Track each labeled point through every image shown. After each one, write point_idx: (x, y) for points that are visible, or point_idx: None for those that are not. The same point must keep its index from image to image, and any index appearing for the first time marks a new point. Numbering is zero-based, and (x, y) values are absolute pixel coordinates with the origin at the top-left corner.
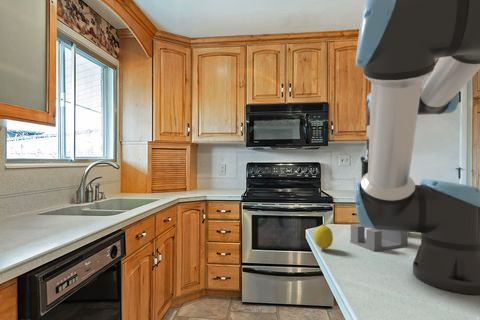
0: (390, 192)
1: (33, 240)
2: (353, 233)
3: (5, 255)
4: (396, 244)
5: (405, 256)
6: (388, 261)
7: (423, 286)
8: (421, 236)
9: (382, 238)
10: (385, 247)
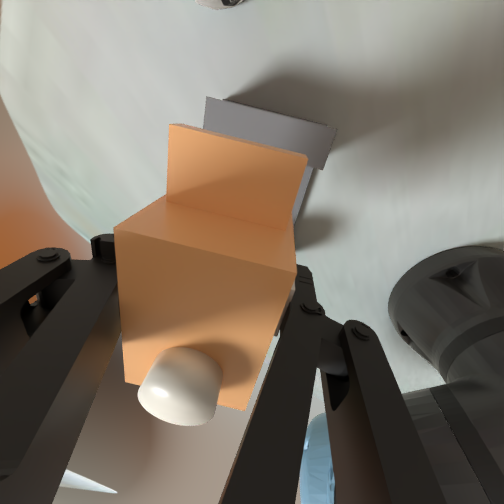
0: None
1: None
2: None
3: (92, 490)
4: (305, 173)
5: (351, 234)
6: (333, 291)
7: None
8: (444, 379)
9: None
10: (294, 223)
